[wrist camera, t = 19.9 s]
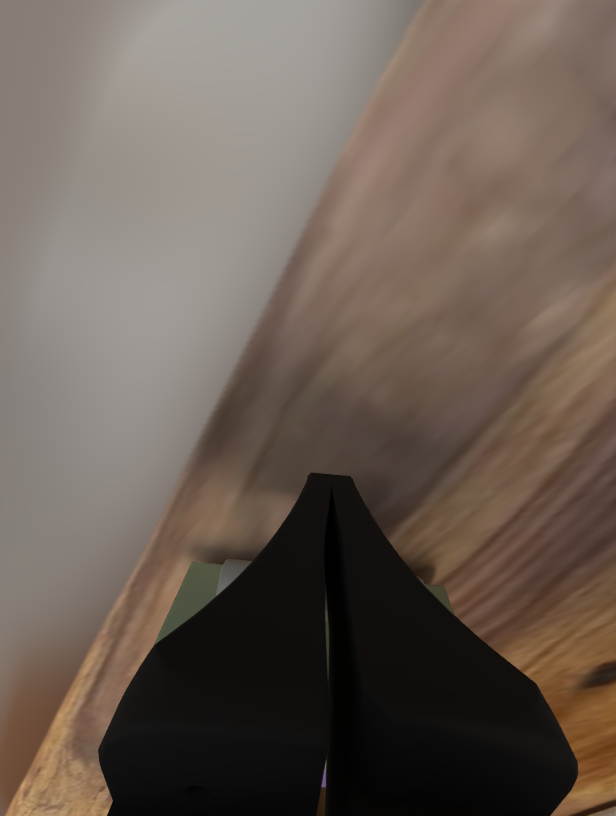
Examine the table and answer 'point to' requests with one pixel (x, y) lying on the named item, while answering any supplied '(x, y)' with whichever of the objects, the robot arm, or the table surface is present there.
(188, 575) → the drawer
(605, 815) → the pen
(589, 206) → the table surface
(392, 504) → the table surface
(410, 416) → the table surface
